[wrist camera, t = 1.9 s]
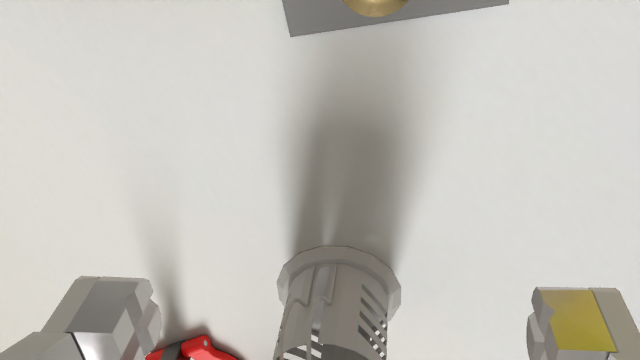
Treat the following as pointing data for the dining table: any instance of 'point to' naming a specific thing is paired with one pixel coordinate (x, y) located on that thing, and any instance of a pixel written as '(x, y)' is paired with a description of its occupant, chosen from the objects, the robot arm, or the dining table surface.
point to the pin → (375, 6)
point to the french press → (336, 304)
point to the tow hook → (190, 351)
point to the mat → (333, 14)
